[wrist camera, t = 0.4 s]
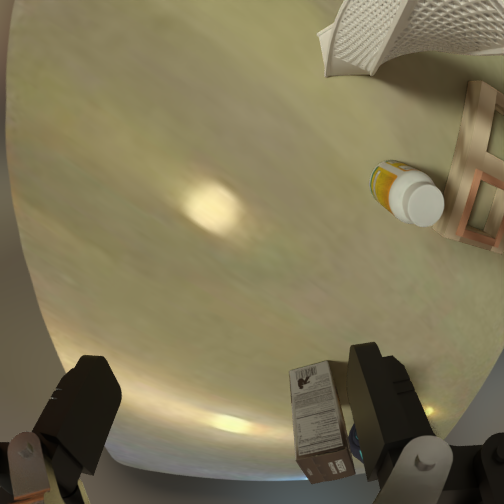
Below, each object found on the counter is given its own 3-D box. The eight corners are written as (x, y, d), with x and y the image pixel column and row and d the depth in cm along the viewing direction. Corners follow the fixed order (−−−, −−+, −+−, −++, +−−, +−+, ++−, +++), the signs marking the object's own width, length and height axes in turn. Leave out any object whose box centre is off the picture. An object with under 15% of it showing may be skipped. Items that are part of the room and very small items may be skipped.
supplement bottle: (396, 151, 32) (439, 165, 23) (415, 190, 34) (457, 215, 25) (359, 174, 33) (392, 196, 24) (380, 212, 35) (414, 244, 26)
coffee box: (339, 393, 48) (356, 475, 33) (302, 403, 49) (310, 486, 34) (328, 358, 44) (348, 449, 30) (287, 370, 45) (294, 462, 31)
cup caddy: (468, 81, 27) (483, 80, 24) (524, 117, 28) (539, 120, 25) (432, 228, 35) (444, 237, 32) (490, 245, 36) (503, 255, 33)
